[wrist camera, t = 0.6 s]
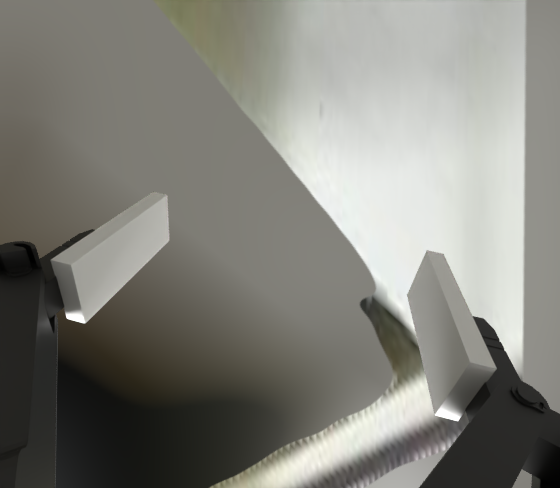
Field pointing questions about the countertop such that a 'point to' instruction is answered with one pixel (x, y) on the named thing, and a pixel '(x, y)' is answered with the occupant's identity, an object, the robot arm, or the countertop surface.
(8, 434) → the robot arm
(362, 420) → the countertop surface
